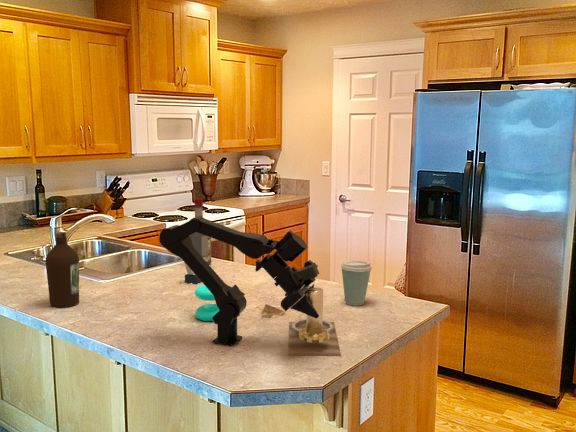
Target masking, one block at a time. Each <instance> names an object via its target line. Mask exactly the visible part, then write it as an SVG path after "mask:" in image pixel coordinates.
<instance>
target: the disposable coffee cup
mask: <svg viewBox="0 0 576 432" xmlns="http://www.w3.org/2000/svg"><path fill="white" fill-rule="evenodd" d="M340 267H341V274H342V286H343V295H344V296H343V297H344V301H345V303H346V304H347V306H348V305H349V306H355V307H356V306H362V305H364V303H365V302H366V301H365V300H366V296H367V291H368V287H369V286H368V285H369V281H370V280H369V279H370V275H371V271H372V268H373V267H372V266H371V262H370V261H366V260H348V261H344V262H342V264H341V266H340Z"/></svg>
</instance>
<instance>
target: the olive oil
mask: <svg viewBox="0 0 576 432" xmlns="http://www.w3.org/2000/svg"><path fill="white" fill-rule="evenodd" d="M44 262H45V271H46V278H47V286H48V287H47V288H48V298H49V305H50V308H54V307H55V309H65V308H71V307H75V306H77V305H79V303H80V257H79V255H78V253H77V251H76V250H75V249H73V248H72V247H71V246H70V245H69V244H68V242H67V232H65V231H64V232H63V231H60V232H55V245H54V246H53V247H52V248H51V250H49V251H48V252H47V254H46V258H45V261H44Z"/></svg>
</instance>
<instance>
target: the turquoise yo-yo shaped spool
mask: <svg viewBox="0 0 576 432" xmlns="http://www.w3.org/2000/svg"><path fill="white" fill-rule="evenodd" d="M194 295H195V296H196V297H197V299H200V300H202V301H207V302H208V301H209V302H215V299H214V296H213V294H212V293H211V292H210V291H209V290H208V288H207V287H206V286H205V285H204V284H202V285H199V286H197V287H196V288H195V289H194ZM219 311H220V310H219V308H218V307H217V305H216V303H206V304H203V305H200V306H198V307H197V308H196V310H195V313H194V315H195V317H196V318H197V319H198V320H200V321H203V322H214V321H213V318H212V317H213V316H214V315H215V314H216V313H217V312H219Z"/></svg>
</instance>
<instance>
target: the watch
mask: <svg viewBox="0 0 576 432" xmlns="http://www.w3.org/2000/svg"><path fill="white" fill-rule="evenodd" d="M185 271H186V272H187V274H186V273H185V274H184V283H185V284H190V283H192V284H191V285H199V284H201V283H202V282H201V280H200V279H199V278H198V277H197V276H196V275H195V274H194V272H193V271H192V270H191V269H190V268H189V267H188V266H187V264H186V263H185ZM198 283H199V284H198Z"/></svg>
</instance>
